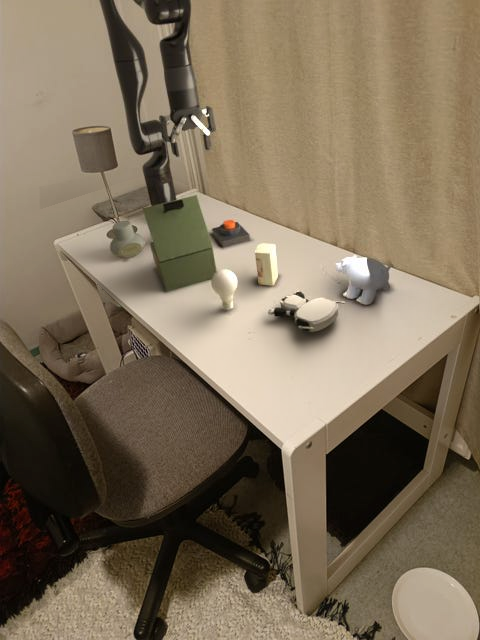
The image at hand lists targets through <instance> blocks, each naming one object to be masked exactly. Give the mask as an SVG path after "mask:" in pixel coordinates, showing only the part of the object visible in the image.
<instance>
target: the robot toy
mask: <svg viewBox="0 0 480 640" xmlns="http://www.w3.org/2000/svg"><path fill="white" fill-rule="evenodd" d="M279 304H280V307H275V308H269V309H268V310H267V314H268V315H269V316H271V315H274V317H275V318H276V317H277V318H282V317H284V316H288V317H293V318H294V322H295V323H294V324H295V325H296V327H297V328H298V329H300V330H303V331H307V332H310V333H312V332H319V331H321V330H323V329H325V328H327V327H328V326H330V325H331V324H333V323H334V322H335V321H336V319H338V316H339V304H342V305H344V304H346V302H345V301H337V300H336V301H335V300H333V299H329V298H325V297H315V298H313V299H311V300H309V299H308V298H306V297H305V294H304V293H303V292H302V291H301V290H296V291H293V292H292V295H286V296H284V297H282V298H281V299H280V300H279Z"/></svg>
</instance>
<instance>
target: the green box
mask: <svg viewBox="0 0 480 640" xmlns="http://www.w3.org/2000/svg"><path fill="white" fill-rule="evenodd" d="M149 245H150V250H151V253H152V257H153V261H154V264H155V268H156V271H157V273H158V275H159V278H160V280H161V282H162V285H163V286H164V288H165V290H166V292H170V291H174V290H177V289H181V288H184V287H188V286H191V285H194V284H198V283H201V282H205V281H207V280H212V277H213V275H214V274H215V273H216V272H217V271H218V270H217V266H216V265H217V264H216V259H215V253H214V249H213V247H212V248H209V249H206V250H202V251H198V252H195V253H191V254H188V255H184V256H180V257H177V258H173V259H169V260H166V261H162V262H159V260H158V256H157V253H156V250H155V247H154V244H153V241H150V242H149Z"/></svg>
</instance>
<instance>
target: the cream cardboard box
mask: <svg viewBox="0 0 480 640" xmlns="http://www.w3.org/2000/svg"><path fill="white" fill-rule="evenodd" d="M276 249H277V248H276V243H266V242H260V243H259V244H258V245H257V246H256V249H255V251H254V256H255V264H256V274H257V282H258V285H261V286H270V287H271V286H274V285H275V284H276V282H277V279H278V277H279V275H278V274H279V273H278V262H277V252H276V251H277V250H276Z"/></svg>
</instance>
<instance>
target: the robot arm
mask: <svg viewBox="0 0 480 640" xmlns="http://www.w3.org/2000/svg"><path fill="white" fill-rule="evenodd" d="M132 1H133V2H134V3H135V4H136V5H137V6H138V7H139V8H141V9H142V10H143V11H144V14H145V16H146V19H147V21H148V22H149V23H150V24H152V25H154V26H165V25H172V24H174V27H173V31H172V33H171V34H169V35H167V36H165V37H163V38H161V39H160V41H159V51H160V58H161V63H162V68H163V78H164V84H165V91H166V95H167V101H168V105H169V111H170V112H169V115H162V114H161V115H159V116H158V120H157V119H151V120H147V121H144V122H142V119H141V106H142V101H143V97H144V95H145V92H146V88H147V84H148V81H149V69H148V63H147V58H146V53H145V50H144V47H143V45H142V44H141V42H140V41H139V39H138V38H137V37H136V35H135V34H134V33H133V31H131V29H130V28H129V27H128V25H127V24H126V23H125V21H124V19H123V17H122V15H121V14H120V12H119V11H118V8H117V5H116V2H115V0H98V2H99V5H100V9H101V11H102V15H103V19H104V22H105V27H106V31H107V35H108V39H109V45H110V49H111V54H112V60H113V64H114V68H115V72H116V77H117V80H118V84H119V88H120V92H121V95H122V96H121V97H122V101H123V106H124V112H125V118H126V123H127V124H126V126H127V131H128V137H129V141H130V144H131V147H132V150H133V152H134V153H135V154H137V155H138V156H143V155H147V154H151V153H152V155H151V156H150V158H149V159H148V160H147V161H145V162H144V163H143V164H142V173H143V178H144V182H145V187H146V189H147V193H148V197H149V202H150V206H154V205H158V204H162V203H166V202H170V201H174V200H178V199H177V195H176V189H175V185H174V180H173V175H172V171H171V164H170V163H171V159H170V155H169V148H168V143H170V147H171V148H170V149H171V153H172V154H173V156H175V157H176V158H179V157H180V151H179V146H178V142H177V139H178V137H179V136H180V134H181V132H182V131H183V132H185V131H189V130H196V128H198V129H199V130H200V131H201V132H202V137H203V143H204V145H203V146H204V149H205V150H206V151H210V150H211V149H210V148H211V147H212V141H211V134H212V133H213V132H214V133H215V132H216V131H217V127H216V121H215V115H214V111H213V108H212V107H211V106H209V105H206V106H205V107H204V108H203V107H202V108H201V106H200V100H199V94H198V87H197V79H196V74H195V70H194V66H193V60H192V52H191V47H190V32H191V31H190V29H191V17H192V2H191V0H132ZM203 115H204V117H206V119H207V125H208V127H206V126H205V125H204V124H203V123H202V122H201V121H200V120H201V118H202V117H203ZM170 122H172V123H173V127H172V129H171V132H170V134H169V133H168V132H169V131H168V126H169V124H170Z"/></svg>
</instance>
